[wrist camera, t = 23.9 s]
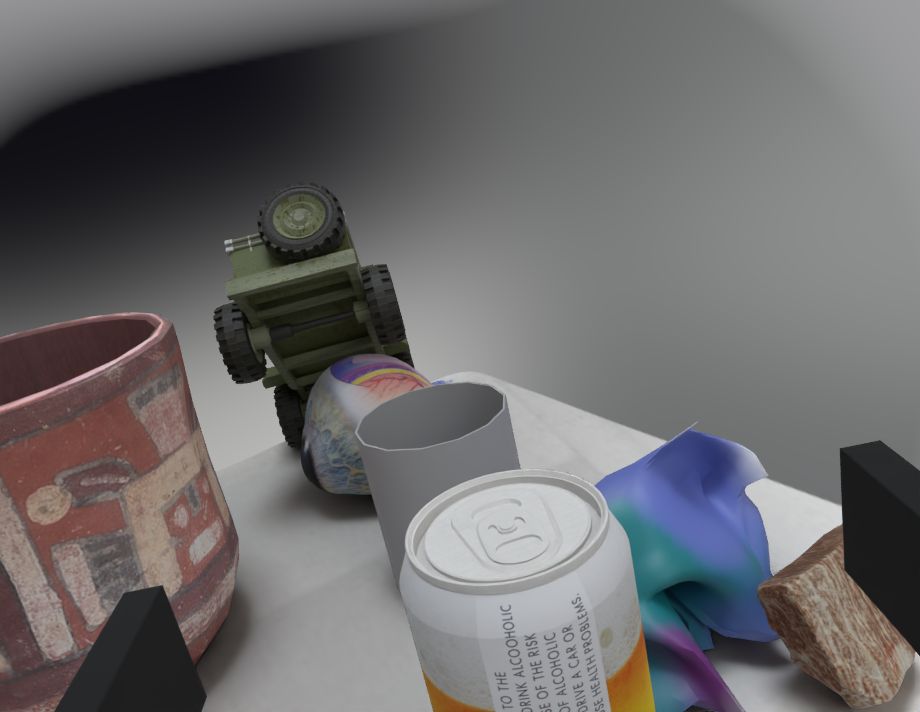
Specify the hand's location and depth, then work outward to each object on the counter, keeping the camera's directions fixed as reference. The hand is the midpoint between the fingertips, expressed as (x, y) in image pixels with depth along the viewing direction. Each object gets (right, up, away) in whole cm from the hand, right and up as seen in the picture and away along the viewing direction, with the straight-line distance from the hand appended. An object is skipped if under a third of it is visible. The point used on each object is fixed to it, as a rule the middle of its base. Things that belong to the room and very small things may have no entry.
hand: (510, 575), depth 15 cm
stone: (+14, -8, +18) cm, 25 cm away
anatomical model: (-5, -4, +43) cm, 43 cm away
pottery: (-20, -13, +29) cm, 38 cm away
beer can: (+3, -14, +10) cm, 18 cm away
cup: (-1, -8, +30) cm, 31 cm away
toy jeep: (-10, +1, +43) cm, 44 cm away
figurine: (+10, -9, +21) cm, 25 cm away
